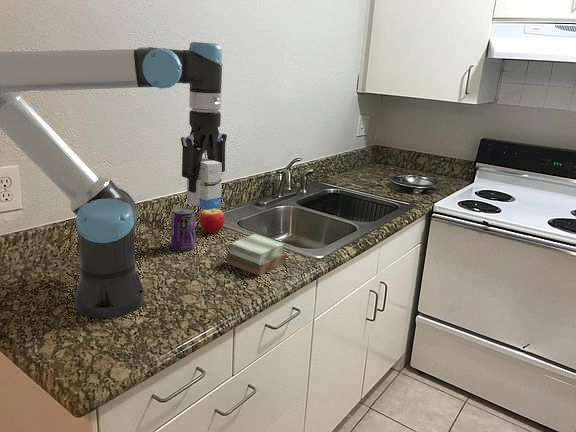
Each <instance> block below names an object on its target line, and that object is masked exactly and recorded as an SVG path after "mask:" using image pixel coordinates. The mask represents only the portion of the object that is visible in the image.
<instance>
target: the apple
mask: <svg viewBox="0 0 576 432" xmlns="http://www.w3.org/2000/svg"><path fill="white" fill-rule="evenodd" d="M225 218H226V217H225V213H224V212H223V210H222V209H220V208H214V209H210V210H205V209H202V210H201V211H200V212H199V215H198V221H199V224H200V226H201V228H202V230H203V231H205V232H206V233H210V234H214V233H217V232H219V231H221V229H223V227H224V224H225Z"/></svg>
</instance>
